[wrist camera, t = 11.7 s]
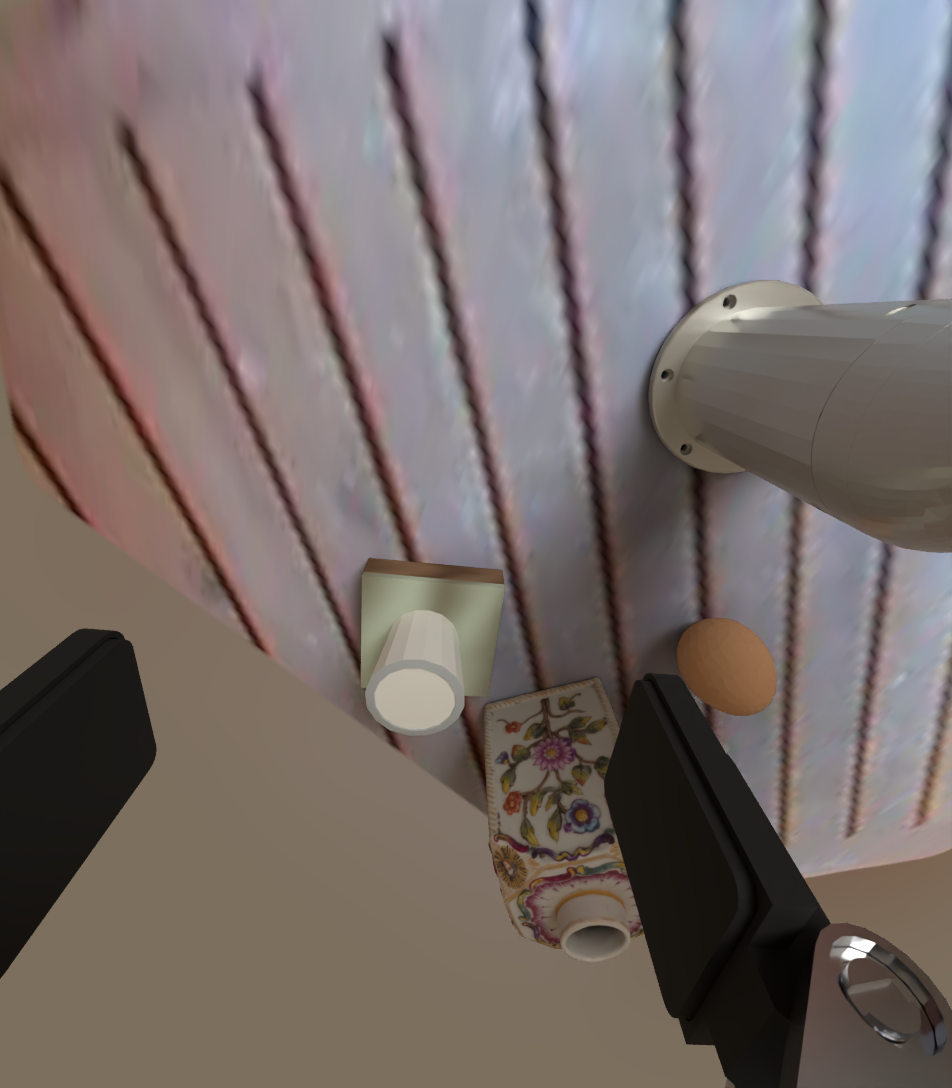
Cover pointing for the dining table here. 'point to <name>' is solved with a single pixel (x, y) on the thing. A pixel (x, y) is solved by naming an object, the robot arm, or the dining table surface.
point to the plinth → (440, 589)
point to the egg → (727, 666)
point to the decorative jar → (558, 820)
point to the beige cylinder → (418, 676)
